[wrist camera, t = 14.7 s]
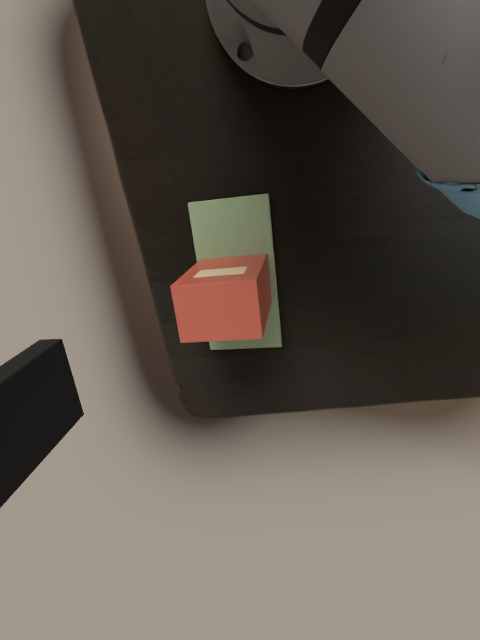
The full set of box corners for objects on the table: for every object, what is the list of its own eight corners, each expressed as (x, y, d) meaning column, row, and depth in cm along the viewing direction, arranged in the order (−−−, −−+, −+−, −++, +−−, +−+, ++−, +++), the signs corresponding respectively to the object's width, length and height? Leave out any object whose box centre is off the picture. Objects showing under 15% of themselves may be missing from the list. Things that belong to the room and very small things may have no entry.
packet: (200, 258, 41) (169, 285, 32) (267, 253, 40) (256, 278, 31) (207, 305, 43) (180, 343, 34) (271, 301, 42) (262, 339, 33)
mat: (189, 202, 40) (187, 202, 39) (268, 193, 39) (268, 193, 38) (211, 347, 46) (210, 350, 45) (282, 344, 44) (281, 347, 43)
